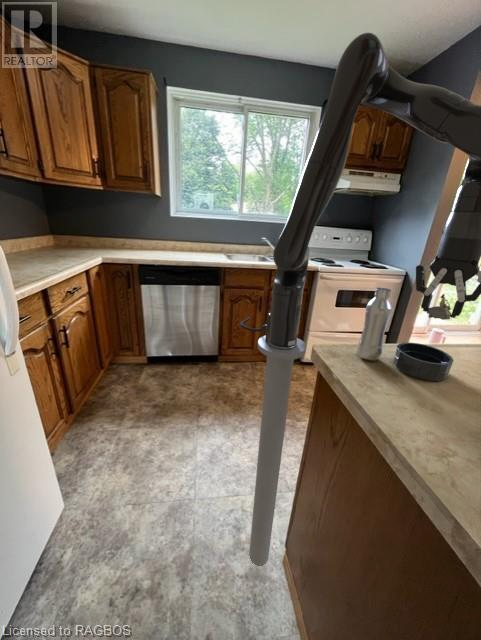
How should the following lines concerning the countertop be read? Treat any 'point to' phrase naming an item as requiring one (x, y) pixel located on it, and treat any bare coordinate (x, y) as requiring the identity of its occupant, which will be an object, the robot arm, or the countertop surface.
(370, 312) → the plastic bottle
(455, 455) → the countertop surface
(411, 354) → the pan
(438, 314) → the figurine
